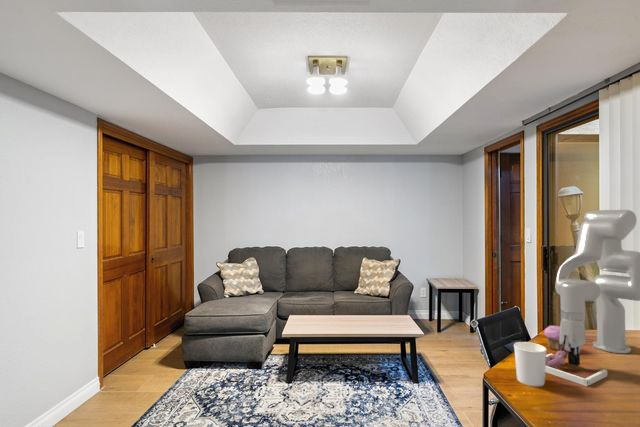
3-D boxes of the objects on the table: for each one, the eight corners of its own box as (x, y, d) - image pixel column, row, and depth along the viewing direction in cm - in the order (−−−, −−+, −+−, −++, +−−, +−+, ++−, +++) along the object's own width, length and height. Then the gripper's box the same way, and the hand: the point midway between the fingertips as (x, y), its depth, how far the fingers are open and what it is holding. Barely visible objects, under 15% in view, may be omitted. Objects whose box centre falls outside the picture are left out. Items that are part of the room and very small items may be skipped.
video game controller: (557, 374, 132) (567, 359, 130) (544, 366, 135) (554, 351, 133) (562, 366, 139) (571, 352, 137) (549, 358, 142) (558, 344, 140)
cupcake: (540, 347, 155) (540, 324, 155) (551, 344, 159) (551, 321, 159) (562, 354, 147) (562, 330, 147) (573, 350, 151) (573, 326, 152)
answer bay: (550, 358, 143) (550, 353, 143) (607, 375, 127) (607, 370, 127) (529, 366, 136) (529, 361, 136) (587, 386, 119) (586, 380, 119)
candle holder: (509, 375, 129) (508, 341, 129) (536, 375, 128) (536, 341, 128) (523, 388, 119) (523, 351, 119) (553, 388, 118) (552, 351, 119)
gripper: (571, 310, 141) (572, 356, 141) (551, 316, 134) (552, 365, 133) (593, 314, 135) (595, 363, 134) (573, 320, 127) (575, 372, 127)
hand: (574, 364), depth 134 cm, fingers closed
